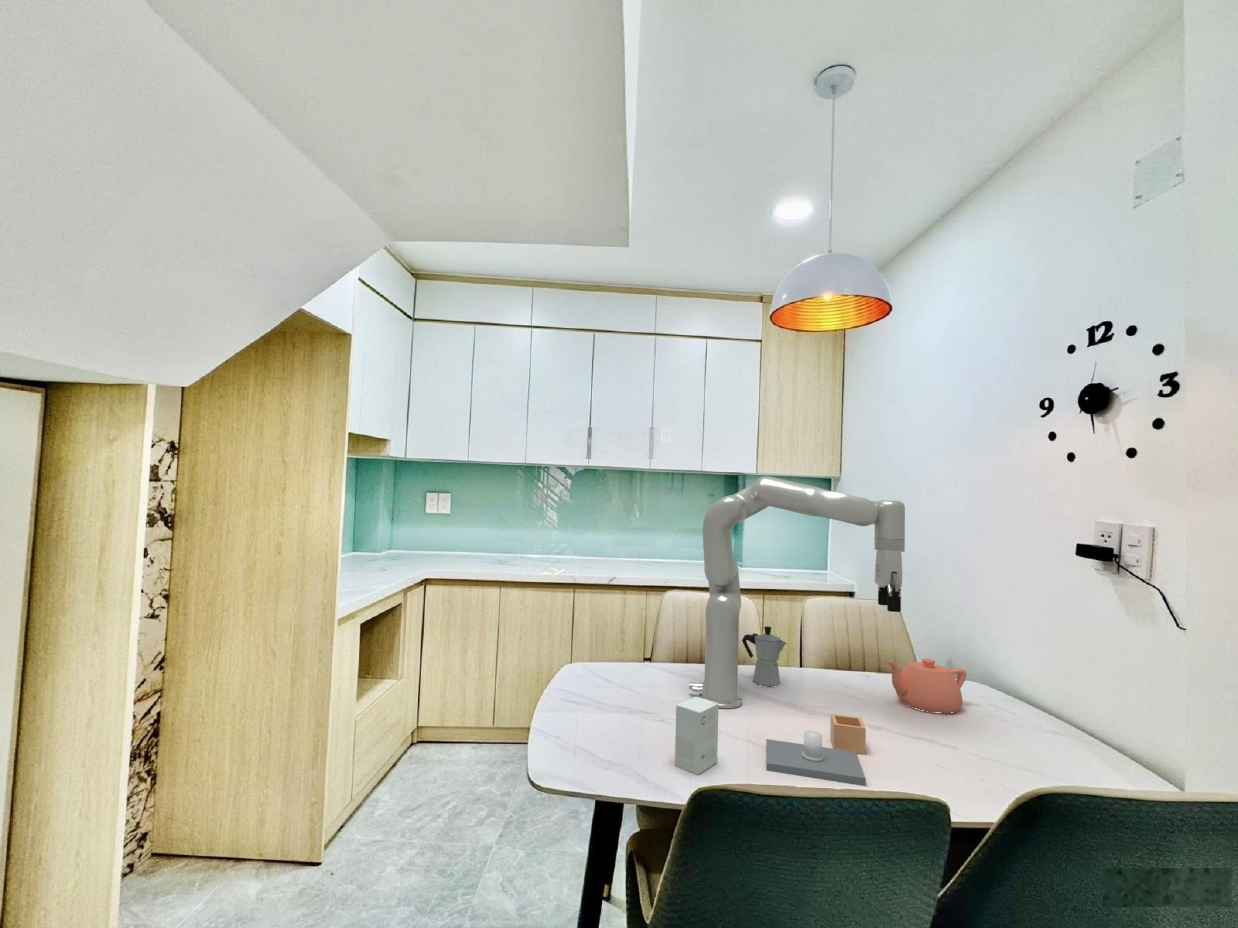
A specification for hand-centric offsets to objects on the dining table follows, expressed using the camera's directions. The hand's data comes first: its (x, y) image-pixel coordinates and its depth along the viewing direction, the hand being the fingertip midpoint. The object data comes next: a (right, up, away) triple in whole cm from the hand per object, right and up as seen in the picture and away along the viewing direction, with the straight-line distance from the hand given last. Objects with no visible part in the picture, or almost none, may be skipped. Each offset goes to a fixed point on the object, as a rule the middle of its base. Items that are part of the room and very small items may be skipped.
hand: (889, 608), depth 153 cm
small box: (-57, -27, -30) cm, 70 cm away
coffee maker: (-27, -32, +29) cm, 51 cm away
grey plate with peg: (-31, -28, -28) cm, 50 cm away
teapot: (+18, -33, +14) cm, 40 cm away
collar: (-19, -29, -17) cm, 39 cm away
